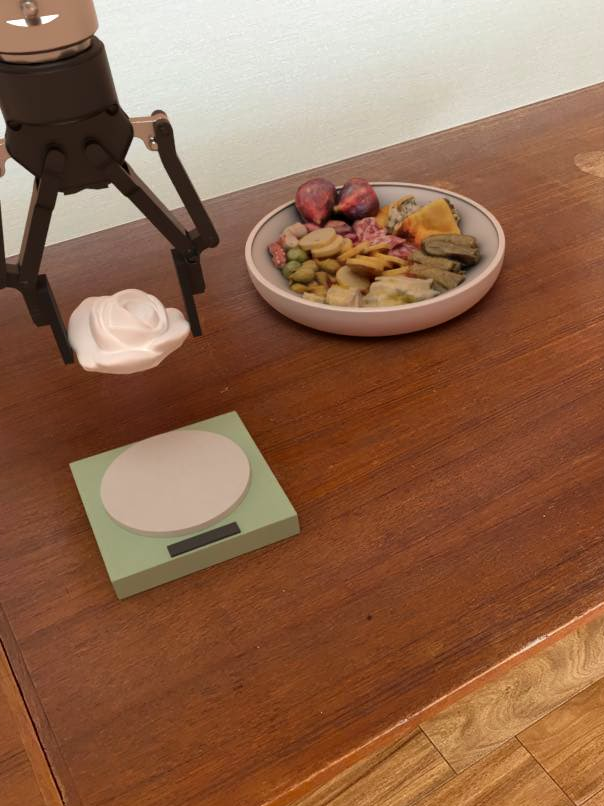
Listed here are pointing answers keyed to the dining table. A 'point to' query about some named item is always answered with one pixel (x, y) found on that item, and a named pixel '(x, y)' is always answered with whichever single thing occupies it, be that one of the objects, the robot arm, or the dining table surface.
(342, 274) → the bowl
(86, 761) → the dining table surface
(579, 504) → the dining table surface
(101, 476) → the scale
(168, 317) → the rose
